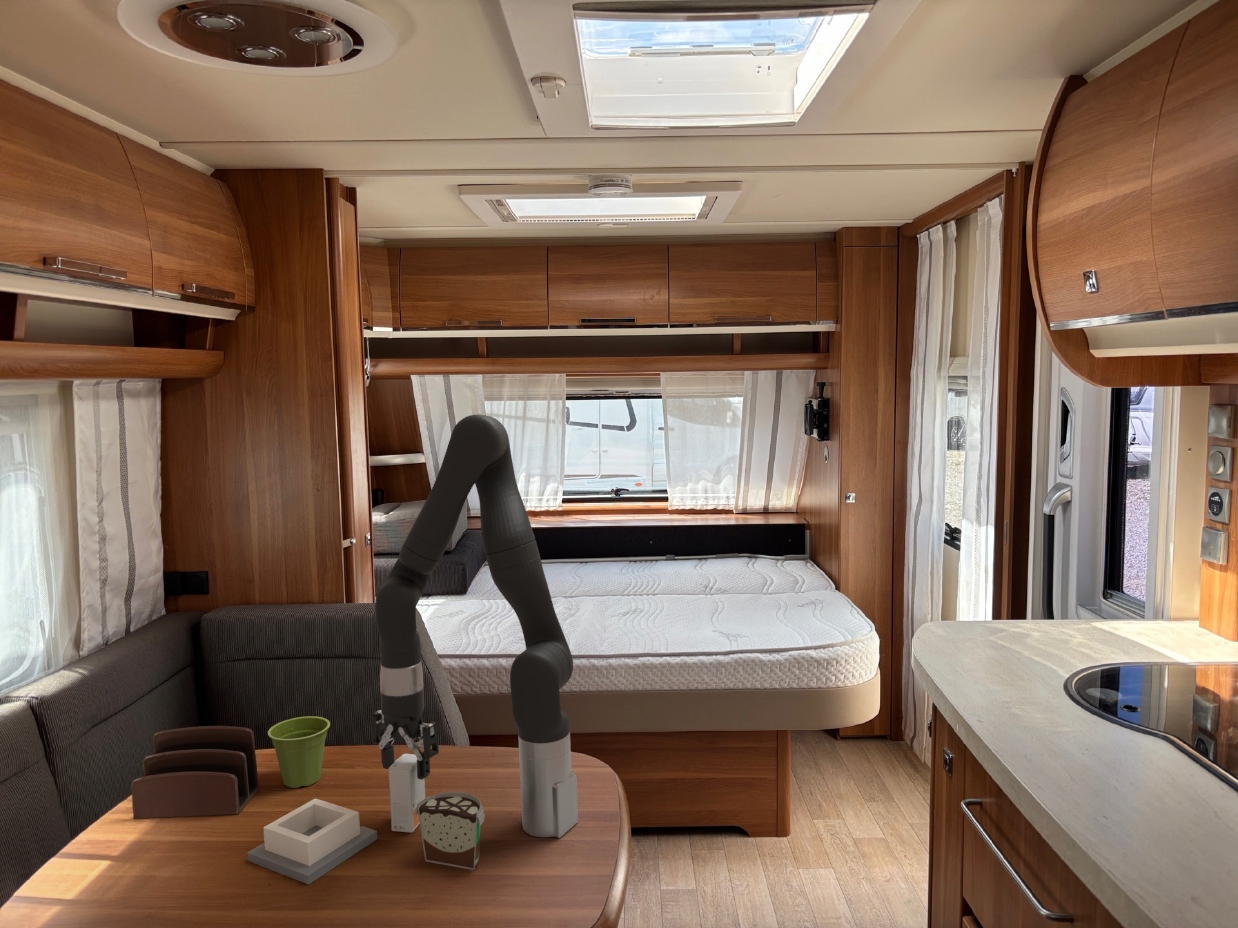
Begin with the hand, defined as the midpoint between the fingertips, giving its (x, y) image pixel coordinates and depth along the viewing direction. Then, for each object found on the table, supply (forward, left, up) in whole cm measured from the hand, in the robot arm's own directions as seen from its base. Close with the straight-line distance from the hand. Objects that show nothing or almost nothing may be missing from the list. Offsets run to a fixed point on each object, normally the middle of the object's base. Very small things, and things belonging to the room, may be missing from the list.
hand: (405, 772), depth 153 cm
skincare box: (0, 0, -10) cm, 10 cm away
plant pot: (+32, -3, -10) cm, 33 cm away
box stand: (+9, +14, -10) cm, 19 cm away
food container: (-15, +4, -10) cm, 19 cm away
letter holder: (+42, +13, -10) cm, 45 cm away
